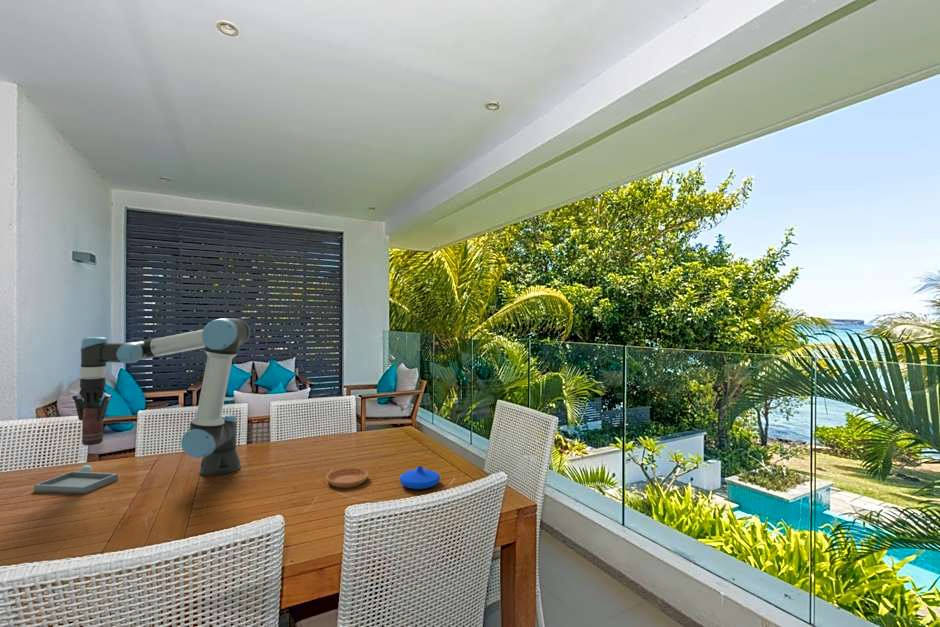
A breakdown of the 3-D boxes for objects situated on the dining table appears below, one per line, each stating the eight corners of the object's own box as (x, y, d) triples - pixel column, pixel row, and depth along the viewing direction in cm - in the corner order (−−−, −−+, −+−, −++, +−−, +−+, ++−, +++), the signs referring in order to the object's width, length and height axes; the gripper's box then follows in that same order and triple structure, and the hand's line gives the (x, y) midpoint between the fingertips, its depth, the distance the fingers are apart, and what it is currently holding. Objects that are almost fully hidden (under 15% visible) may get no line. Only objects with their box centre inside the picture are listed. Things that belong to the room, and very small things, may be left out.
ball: (94, 472, 182) (94, 464, 182) (85, 476, 179) (85, 467, 179) (86, 472, 183) (86, 463, 183) (77, 475, 179) (77, 466, 179)
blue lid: (407, 496, 162) (407, 477, 162) (394, 481, 176) (394, 464, 176) (446, 489, 170) (446, 470, 170) (430, 475, 184) (431, 458, 184)
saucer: (375, 477, 181) (375, 470, 181) (353, 492, 166) (353, 484, 166) (342, 472, 186) (342, 465, 186) (317, 486, 171) (317, 479, 171)
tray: (117, 480, 175) (117, 473, 175) (83, 494, 161) (83, 487, 161) (71, 477, 177) (71, 471, 177) (34, 491, 163) (34, 484, 163)
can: (77, 445, 168) (77, 408, 168) (91, 440, 175) (91, 405, 174) (93, 446, 168) (93, 409, 168) (106, 440, 175) (107, 405, 174)
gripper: (118, 376, 175) (115, 436, 175) (82, 375, 174) (80, 435, 174) (104, 379, 168) (101, 441, 168) (66, 378, 166) (64, 441, 166)
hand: (90, 438), depth 171 cm, fingers closed
